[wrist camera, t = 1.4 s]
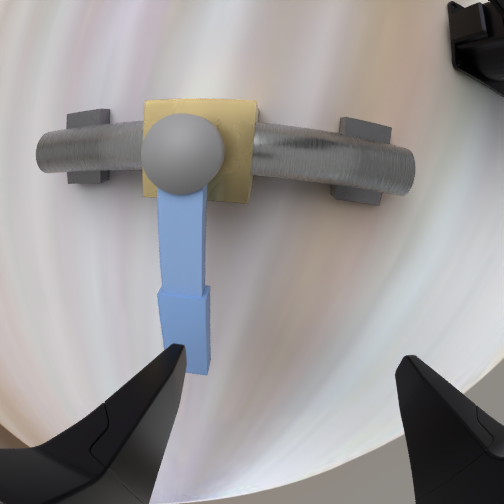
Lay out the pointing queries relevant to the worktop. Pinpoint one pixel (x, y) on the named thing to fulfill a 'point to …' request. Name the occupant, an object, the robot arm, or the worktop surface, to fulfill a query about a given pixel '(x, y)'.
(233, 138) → the pipe run
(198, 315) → the valve lever
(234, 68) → the worktop surface
